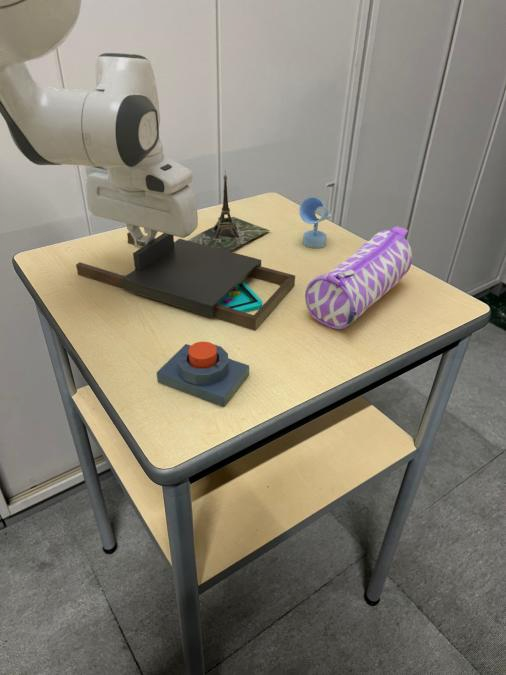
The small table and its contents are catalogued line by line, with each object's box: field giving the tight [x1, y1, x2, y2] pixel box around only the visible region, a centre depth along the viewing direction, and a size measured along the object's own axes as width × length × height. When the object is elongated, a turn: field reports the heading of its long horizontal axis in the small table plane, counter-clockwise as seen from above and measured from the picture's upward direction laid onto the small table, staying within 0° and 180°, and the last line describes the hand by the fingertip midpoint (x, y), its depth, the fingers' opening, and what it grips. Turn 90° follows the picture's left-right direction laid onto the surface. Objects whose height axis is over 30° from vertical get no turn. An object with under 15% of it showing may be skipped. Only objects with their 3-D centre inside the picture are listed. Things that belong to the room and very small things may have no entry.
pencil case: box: [304, 225, 413, 330], centre depth 82 cm, size 22×9×10 cm, turn 143°
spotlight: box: [298, 196, 330, 249], centre depth 98 cm, size 5×10×7 cm
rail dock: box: [75, 231, 296, 331], centre depth 89 cm, size 35×15×2 cm, turn 63°
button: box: [188, 341, 217, 369], centre depth 66 cm, size 4×4×2 cm
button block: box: [156, 343, 250, 408], centre depth 68 cm, size 10×7×4 cm
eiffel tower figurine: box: [186, 169, 271, 252], centre depth 99 cm, size 15×10×13 cm
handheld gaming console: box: [218, 280, 263, 313], centre depth 86 cm, size 8×1×15 cm
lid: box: [122, 233, 262, 319], centre depth 87 cm, size 17×17×5 cm
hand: (144, 248), depth 90 cm, fingers closed
